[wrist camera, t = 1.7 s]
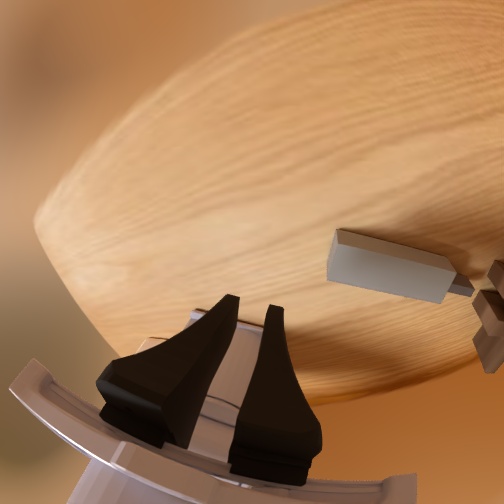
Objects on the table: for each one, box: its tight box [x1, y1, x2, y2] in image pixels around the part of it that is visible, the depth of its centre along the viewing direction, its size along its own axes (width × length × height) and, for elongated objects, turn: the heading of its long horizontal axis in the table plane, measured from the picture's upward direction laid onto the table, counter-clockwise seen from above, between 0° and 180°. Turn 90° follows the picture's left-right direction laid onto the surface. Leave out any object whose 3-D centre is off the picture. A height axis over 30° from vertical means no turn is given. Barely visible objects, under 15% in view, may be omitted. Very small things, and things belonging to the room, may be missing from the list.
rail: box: [327, 229, 475, 304], centre depth 18 cm, size 13×3×2 cm, turn 84°
